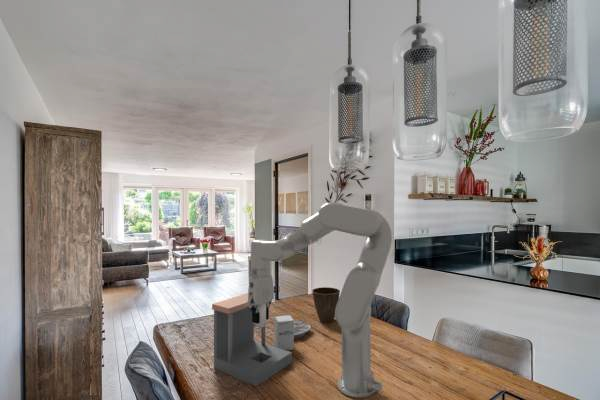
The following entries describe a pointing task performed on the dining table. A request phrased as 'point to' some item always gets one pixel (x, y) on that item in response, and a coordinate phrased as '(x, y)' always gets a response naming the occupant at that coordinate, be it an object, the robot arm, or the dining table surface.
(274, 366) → the socket station
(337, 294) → the plant pot
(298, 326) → the brain slice
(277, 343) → the supplement box
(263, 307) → the peg
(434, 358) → the dining table surface
